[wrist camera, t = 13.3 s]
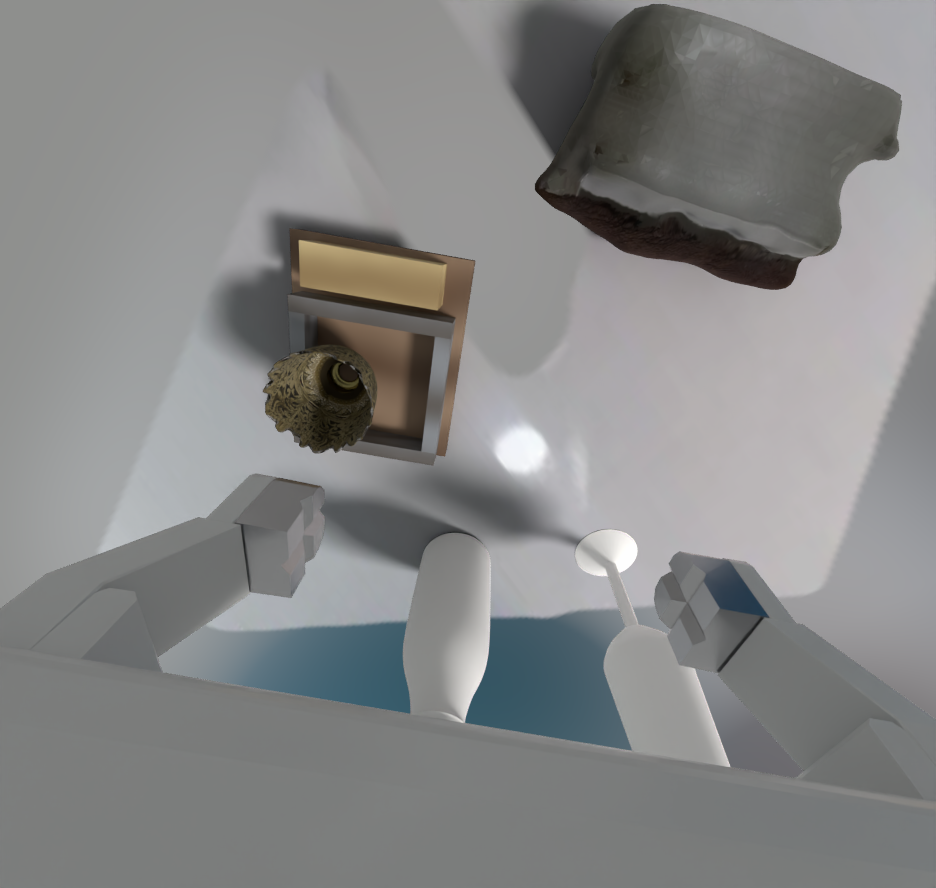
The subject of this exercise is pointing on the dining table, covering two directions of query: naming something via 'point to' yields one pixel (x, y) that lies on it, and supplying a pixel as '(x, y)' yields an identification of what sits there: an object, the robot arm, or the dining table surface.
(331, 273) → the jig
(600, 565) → the champagne flute
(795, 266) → the rock
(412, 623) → the milk bottle
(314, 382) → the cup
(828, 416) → the dining table surface
